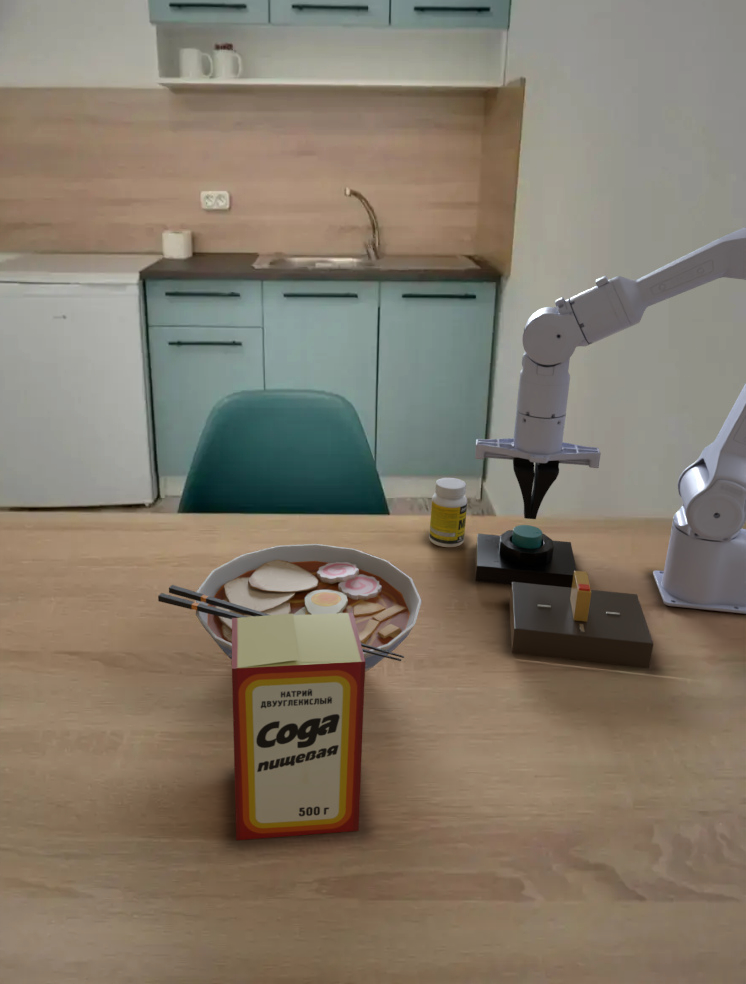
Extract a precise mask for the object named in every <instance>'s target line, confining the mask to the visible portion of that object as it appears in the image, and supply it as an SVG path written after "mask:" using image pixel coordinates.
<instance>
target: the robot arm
mask: <svg viewBox="0 0 746 984" xmlns="http://www.w3.org/2000/svg"><path fill="white" fill-rule="evenodd" d="M721 278H726V279H733V280H734V279H736V280H743V281H746V226H745V227H741V228H739V229H737V230H735V231H733V232H730V233H728V234H726V235H724V236H721V237H719V238H717V239H715V240H712V241H711V242H709V243H707V244H705V245H703V246H701V247H699V248H697V249H695V250H693V251H691V252H689V253H687V254H685V255H683V256H681V257H679V258H677V259H675V260H673V261H670V262H668V263H667V264H665V265H663V266H661V267H659V268H657V269H654V270H653V271H651V272H649V273H647V274H645V275H643V276H642V277H639V278H637V279H630V278H627V277H625V276H622V275H616V276H614V277H612V278H608V276H607V275H603V276H601V277H598V278H596V279H595V286H593V287H590V288H589V289H586V290H584V291H582V292H579V293H577V294H576V295H573V296H571V297H569V298H567V299H565V298H564V296H562V297H559V298H556V299H555V300H554V304H555V306H554V307H551V306H545V307H542V308H539V309H537V310H536V311H534V312H533V313H532V314H531V315H530V317H529V318H528V319H527V320H526V323H525V327H524V328H523V333H522V347H523V350H524V353H523V355H522V357H521V366H522V369H521V370H520V372H519V381H518V390H517V398H516V399H517V400H516V411H515V421H514V430H513V431H514V432H513V437H511V438H489V439H488V438H487V439H486V438H476V440H475V451H474V459H475V460H484V459H497V460H511V461H512V467H513V473H514V476H515V478H516V480H517V483H518V485H519V489H520V492H521V496H522V502H523V518H524V519H525V520H526V519H527V520H536V519H537V516H538V512H539V509H540V507H541V506H542V505H541V504H542V503H543V500H544V498H545V496H546V495H547V493H548V491H549V489H550V488H551V486H552V485H553V484H554V482H555V481H556V480H557V478H558V476H559V475H560V464H563V465H564V464H565V465H574V466H575V465H577V466H587V467H589V468H591V469H599V468H600V460H601V451H600V448H599V447H594V446H587V445H580V444H574V443H569V442H564V433H565V425H566V416H567V409H568V401H569V400H568V399H569V390H570V381H571V374H570V372H569V368H570V360H571V357H572V356H573V354H574V353H575V351H576V348H577V347H589V346H590V345H593V344H594V343H597V342H599V341H602V340H604V339H606V338H609V337H610V336H613V335H615V334H617V333H620V332H622V331H624V330H627V329H629V328H631V327H633V326H636V325H638V324H640V322H641V320H642V318H643V316H644V313H645V311H646V310H647V308H648V307H650V306H653V305H656V304H658V303H660V302H663V301H666V300H667V299H671V298H673V297H676V296H678V295H681V294H683V293H686V292H688V291H690V290H694V289H695V288H699V287H700V286H703V285H705V284H708V283H711V282H713V281H716V280H718V279H721ZM680 473H681V474H680V475H679V476H678V480H677V491H678V495H679V497H680V498H681V501H682V505H681V506H680V507H679V509H678V510H677V512H675V513H674V515H673V518H672V523H671V528H670V533H669V541H668V546H667V550H666V556H665V562H664V568H663V570H657V569H656V570H653V572H652V576H653V579H654V581H655V583H656V587H657V589H658V591H659V594H660V596H661V600H662V602H663V604H664V605H665V606H669V607H674V608H675V607H677V608H685V609H686V608H687V609H694V610H695V609H697V610H706V611H716V612H723V613H724V612H726V613H733V614H734V613H736V614H745V615H746V528H743V527H744V526H745V524H746V382H745V383H744V385H743V387H742V389H741V391H740V392H739V394H738V396H737V398H736V400H735V402H734V404H733V406H732V407H731V410H730V411H729V413H728V415H727V417H726V419H725V420H724V422H723V424H722V426H721V428H720V430H719V431H718V434H717V435H716V437H715V439H714V441H712V442H711V443H709V444H708V445H706V446H705V447H704V448H703V449H702V451H701V453H700V455H699V457H698V458H697V459H696V460H695V461H694V462H692V463H691V464H690V465H688V466H686V468H684V469H683V470H682V472H680Z"/></svg>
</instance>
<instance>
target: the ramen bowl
mask: <svg viewBox="0 0 746 984" xmlns="http://www.w3.org/2000/svg"><path fill="white" fill-rule="evenodd" d="M171 594H172V595H171ZM174 595H176V596H174ZM157 601H158V602H161V603H163V604H168V605H172V606H176V607H180V608H184V609H189V610H194V611H195V616H196V618H197V619H198V620H199V622H200V624H201V625H202V627H203V629H204V630H205V631H206V632H207V634H208V635H209V636H210V637H211V638H212V639H213V641H214V642H215V643H216V644H217V645H218V647H219V648H220V649H221V650H222V652H224V654H225V655H226V656H227V657H228V658H229V659H230V660H231V661H232V618H241V617H254V616H267V615H281V614H293V615H312V614H333V613H353V615H354V619H355V623H356V626H357V630H358V634H359V638H360V642H361V646H362V650H363V654H364V658H365V673H367V672H368V671H370V670H371V669H372V668H373V667H375V666H376V665H377V664H379V663H380V662H381V661H383V659H384V658H386V659H391V660H394V661H399V662H402V659H404V658H405V655H402V654H399V653H395V652H393V651H395V649H397V648H398V647H399V646H400V645H401V644H402V643H403V642H404V641H405V639H406V638H407V637H408V636H409V635H410V633H411V632H412V630H413V629H414V627H415V625H416V623H417V621H418V616H419V612H420V608H421V605H422V601H423V600H422V598H421V595H420V593H419V591H418V589H417V587H416V584H415V582H414V580H413V578H412V577H411V576H409V575H408V574H407V573H405V572H404V571H402V570H401V569H400V568H398V567H397V566H395V565H394V564H393V563H391V562H390V560H387V559H384V558H381V557H378V556H376V555H373V554H371V553H367V552H365V551H362V550H360V549H356V548H352V547H344V546H336V545H328V544H321V543H307V544H287V545H285V544H284V545H283V544H282V545H275V546H270V547H267V548H263V549H259V550H255V551H251V552H248V553H243V554H240V555H238V556H236V557H234V558H232V559H231V560H229V561H227V562H225V563H224V564H223V563H222V565H219V566H218V567H215V568H214V569H212V570H211V572H209V574H208V576H207V577H206V578H205V579H204V581H203V582H202V583H201V585H199V587H198V588H197V589H196V591H194V590H191V589H188V588H184V587H181V586H178V585H175V584H171V585H170V586H169V587H168V594H167V593H163V592H161V593H159V594H158V596H157Z"/></svg>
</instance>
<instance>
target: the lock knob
mask: <svg viewBox="0 0 746 984" xmlns="http://www.w3.org/2000/svg"><path fill="white" fill-rule="evenodd" d="M591 590H592V589H591V585H590V580H589V576H588V572H587V571H582V570H581V571H580V570H577V571H574V574H573V582H572V589H571V596H570V601H571V607H572V613H573V619H574V620H575V621H584V622H587V619H588V612H589V605H590V598H591Z"/></svg>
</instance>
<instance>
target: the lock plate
mask: <svg viewBox="0 0 746 984" xmlns="http://www.w3.org/2000/svg"><path fill="white" fill-rule="evenodd" d="M510 586H511V587H510V595H509V603H508V605H509V622H510V623H509V625H510V643H511V644H510V645H511V653H513V654H521V655H531V656H537V657H539V656H541V657H546V658H547V657H549V658H558V659H566V660H575V661H581V662H582V661H585V662H591V663H601V664H610V665H619V666H628V667H636V668H646V669H649V668H650V665H651V660H652V654H653V649H654V641H653V638H652V636H651V632H650V629H649V626H648V623H647V621H646V617H645V614H644V611H643V609H642V605H641V603H640V599H639V596H638V594H637V593H628V592H617V591H606V590H597V589H591V598H590V605H589V612H588V619H587V622H584V621H575V620H574V619H573V613H572V607H571V601H570V596H571V589H572V588H569V587H559V586H549V585H539V584H529V583H519V582H512V585H510Z"/></svg>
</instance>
